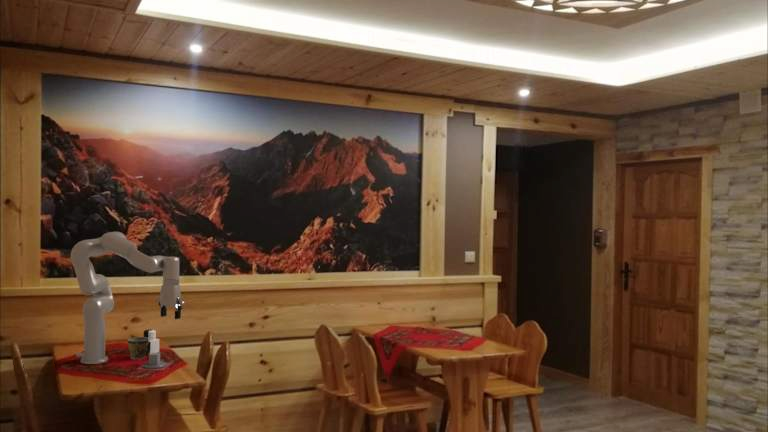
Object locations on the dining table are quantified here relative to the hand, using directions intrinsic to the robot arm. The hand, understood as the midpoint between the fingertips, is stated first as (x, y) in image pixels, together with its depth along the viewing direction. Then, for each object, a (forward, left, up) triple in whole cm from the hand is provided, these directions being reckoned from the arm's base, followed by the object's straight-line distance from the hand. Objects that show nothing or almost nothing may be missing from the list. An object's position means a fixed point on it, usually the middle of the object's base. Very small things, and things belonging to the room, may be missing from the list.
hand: (170, 317), depth 328 cm
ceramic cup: (-19, +10, -24) cm, 32 cm away
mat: (-6, -3, -24) cm, 25 cm away
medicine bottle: (-18, +24, -24) cm, 38 cm away
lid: (-6, -3, -23) cm, 24 cm away
